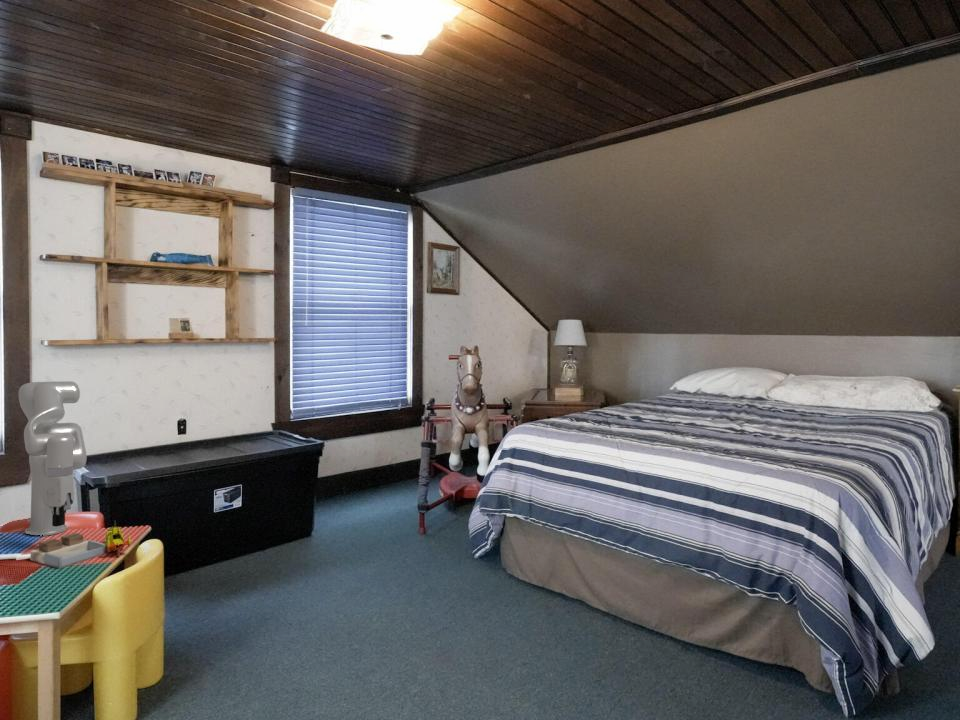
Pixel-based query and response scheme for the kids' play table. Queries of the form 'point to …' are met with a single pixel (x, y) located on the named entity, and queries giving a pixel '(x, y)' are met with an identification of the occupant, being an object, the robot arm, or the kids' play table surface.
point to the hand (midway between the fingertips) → (58, 525)
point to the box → (75, 555)
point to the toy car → (115, 539)
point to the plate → (59, 551)
